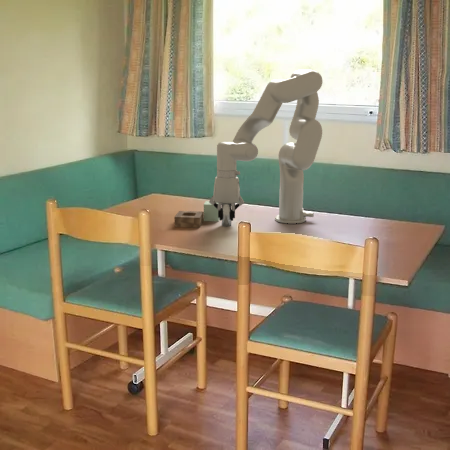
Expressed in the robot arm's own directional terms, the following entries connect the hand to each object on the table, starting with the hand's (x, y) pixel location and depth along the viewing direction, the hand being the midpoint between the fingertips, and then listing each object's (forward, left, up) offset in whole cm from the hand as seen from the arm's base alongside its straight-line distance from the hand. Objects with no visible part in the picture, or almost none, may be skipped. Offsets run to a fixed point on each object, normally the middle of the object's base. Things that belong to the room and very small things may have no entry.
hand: (226, 219), depth 251 cm
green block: (+7, -9, -3) cm, 12 cm away
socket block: (+15, -1, -2) cm, 15 cm away
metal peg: (0, 0, -2) cm, 2 cm away
